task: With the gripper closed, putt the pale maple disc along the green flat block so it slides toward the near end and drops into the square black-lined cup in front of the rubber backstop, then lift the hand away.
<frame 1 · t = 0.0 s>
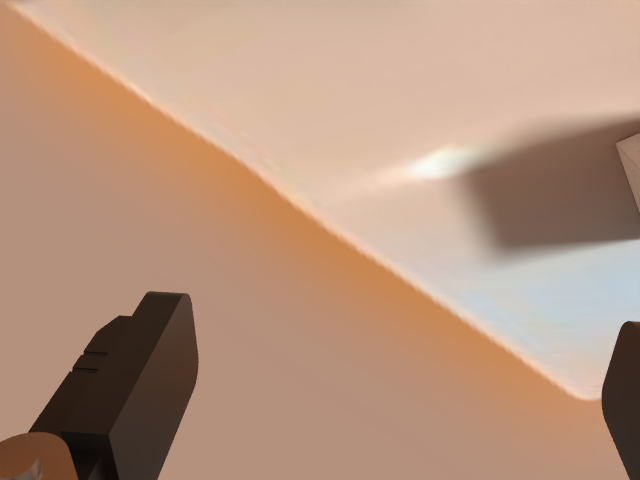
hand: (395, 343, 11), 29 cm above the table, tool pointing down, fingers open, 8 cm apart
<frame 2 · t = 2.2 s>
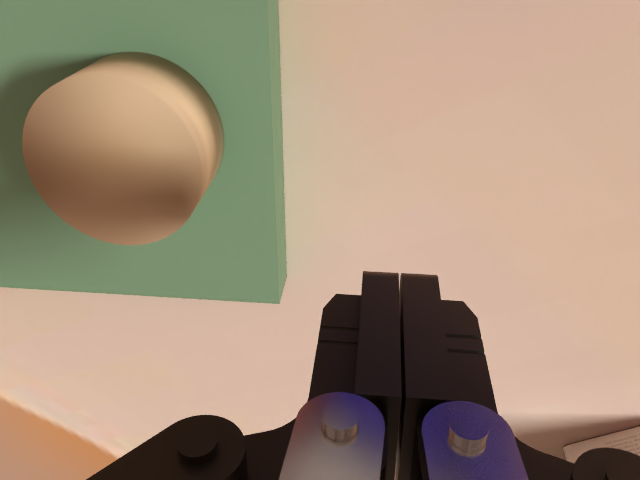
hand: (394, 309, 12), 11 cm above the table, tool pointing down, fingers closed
small box: (639, 477, 30), on the table
green flat block: (13, 110, 23), on the table
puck: (145, 133, 21), point 2 cm above the table, touching green flat block
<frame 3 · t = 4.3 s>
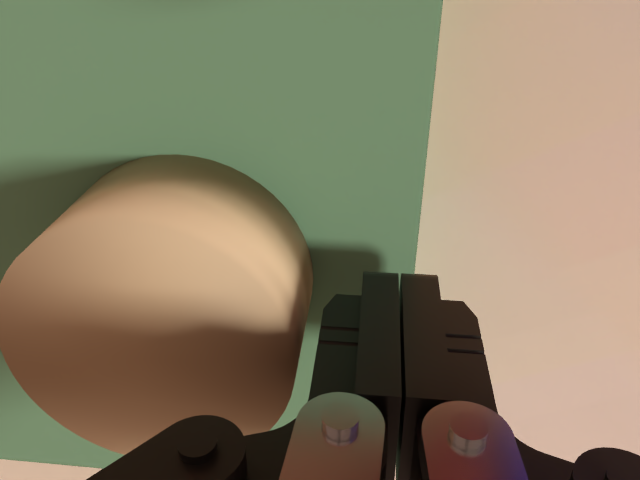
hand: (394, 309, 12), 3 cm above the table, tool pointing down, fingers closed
green flat block: (8, 216, 16), on the table
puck: (190, 270, 14), point 2 cm above the table, touching gripper, green flat block
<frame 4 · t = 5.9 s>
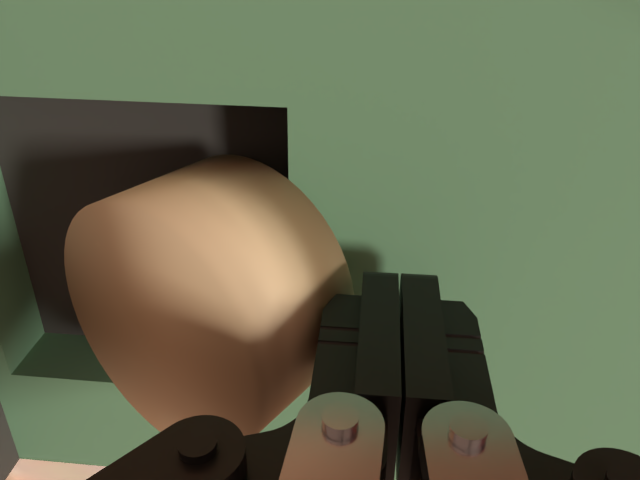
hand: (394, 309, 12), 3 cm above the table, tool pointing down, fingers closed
green flat block: (350, 232, 15), on the table
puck: (254, 271, 14), point 2 cm above the table, tilted 31°, touching gripper
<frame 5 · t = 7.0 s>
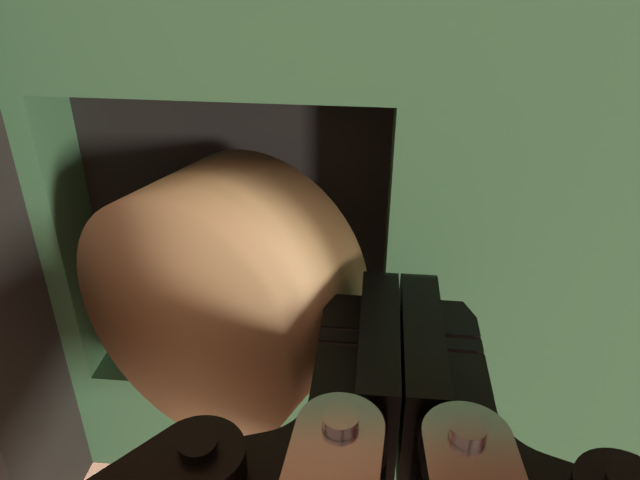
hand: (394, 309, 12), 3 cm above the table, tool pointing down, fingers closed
green flat block: (436, 233, 15), on the table
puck: (262, 262, 14), point 1 cm above the table, tilted 25°, touching gripper, green flat block
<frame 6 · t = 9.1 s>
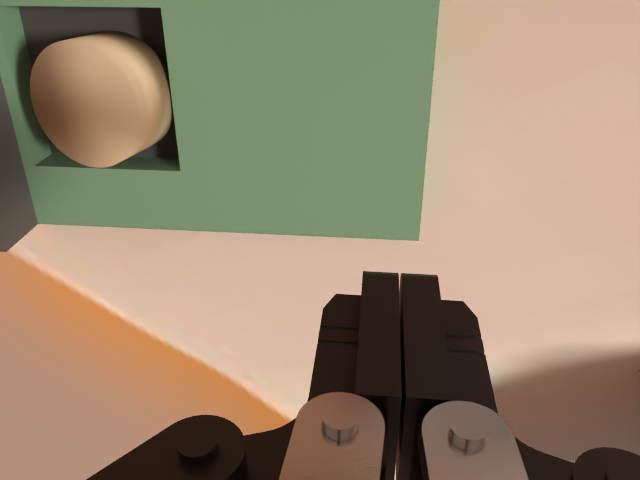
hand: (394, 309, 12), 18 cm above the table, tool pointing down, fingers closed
green flat block: (209, 84, 29), on the table
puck: (124, 92, 29), point 1 cm above the table, tilted 13°, touching green flat block
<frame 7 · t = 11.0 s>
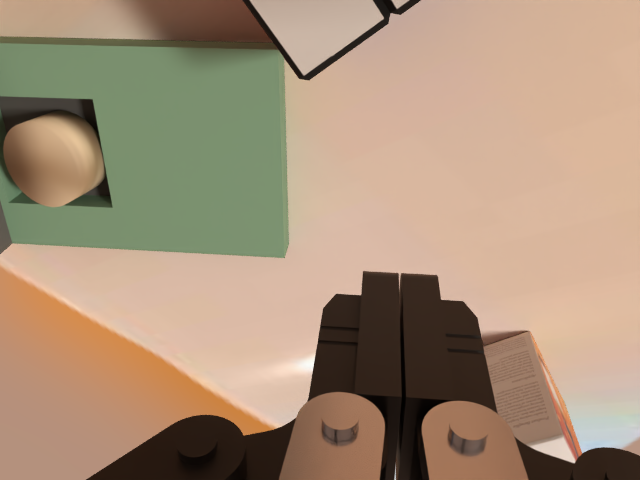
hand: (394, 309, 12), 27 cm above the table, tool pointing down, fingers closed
small box: (512, 375, 47), on the table
green flat block: (133, 146, 41), on the table
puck: (71, 151, 40), point 1 cm above the table, tilted 13°, touching green flat block
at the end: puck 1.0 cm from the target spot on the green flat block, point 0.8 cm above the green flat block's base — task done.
